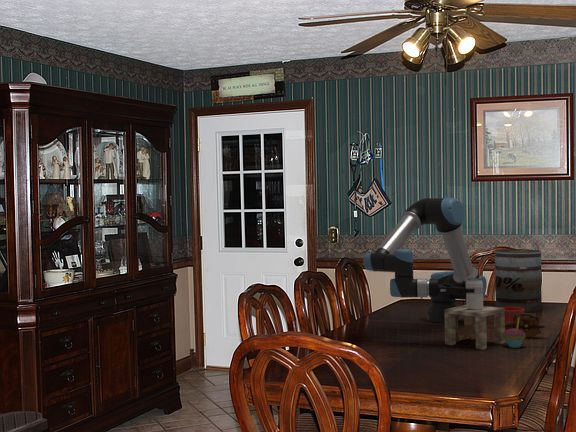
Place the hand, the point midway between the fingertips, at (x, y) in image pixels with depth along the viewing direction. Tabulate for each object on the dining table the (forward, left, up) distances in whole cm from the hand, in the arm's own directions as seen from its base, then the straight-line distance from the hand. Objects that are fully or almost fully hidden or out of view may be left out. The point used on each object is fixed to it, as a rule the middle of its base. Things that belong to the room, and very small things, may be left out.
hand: (482, 288), depth 313 cm
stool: (-3, -2, -22) cm, 22 cm away
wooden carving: (+6, +22, -22) cm, 32 cm away
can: (-3, -2, -8) cm, 9 cm away
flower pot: (-6, +33, -22) cm, 40 cm away
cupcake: (+12, +2, -22) cm, 26 cm away
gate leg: (-9, +1, -22) cm, 24 cm away
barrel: (-32, +88, -22) cm, 96 cm away
